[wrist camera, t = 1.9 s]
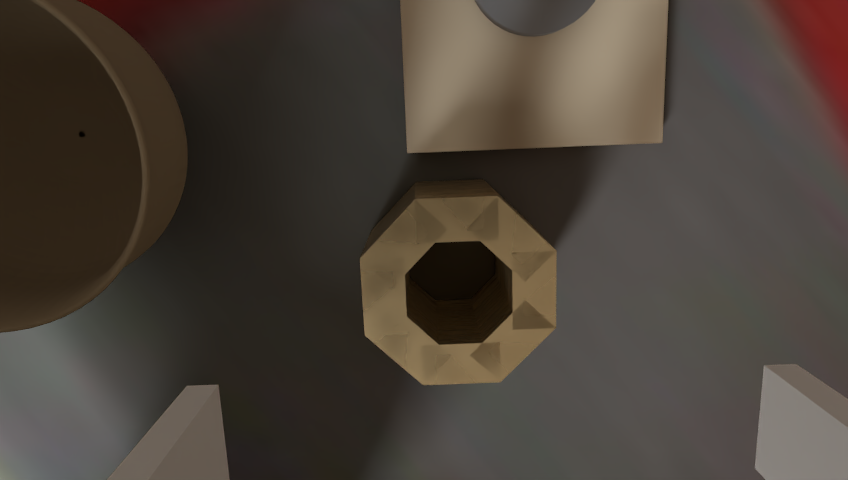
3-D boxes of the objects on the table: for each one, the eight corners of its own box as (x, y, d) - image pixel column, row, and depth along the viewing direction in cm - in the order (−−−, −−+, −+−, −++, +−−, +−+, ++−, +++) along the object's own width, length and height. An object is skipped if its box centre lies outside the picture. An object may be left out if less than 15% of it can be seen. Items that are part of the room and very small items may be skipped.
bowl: (104, 316, 31) (-40, 410, 22) (-87, 125, 29) (-342, 133, 19) (283, 161, 30) (215, 186, 20) (95, -54, 28) (-84, -144, 18)
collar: (378, 335, 32) (368, 387, 26) (368, 183, 30) (356, 201, 24) (530, 329, 31) (555, 379, 26) (530, 177, 30) (556, 193, 24)
